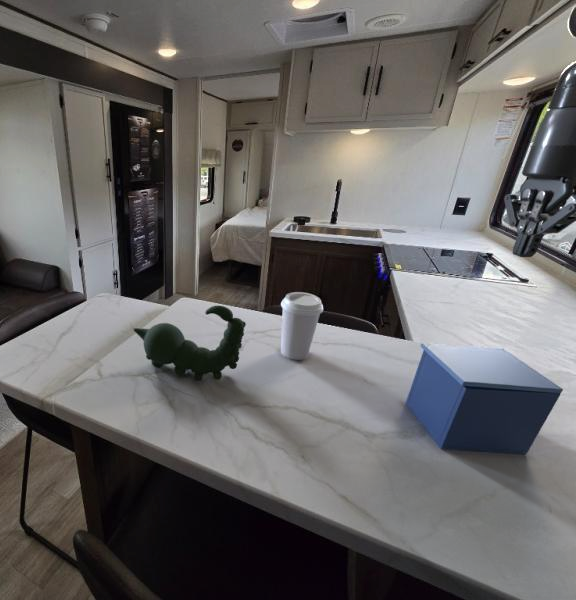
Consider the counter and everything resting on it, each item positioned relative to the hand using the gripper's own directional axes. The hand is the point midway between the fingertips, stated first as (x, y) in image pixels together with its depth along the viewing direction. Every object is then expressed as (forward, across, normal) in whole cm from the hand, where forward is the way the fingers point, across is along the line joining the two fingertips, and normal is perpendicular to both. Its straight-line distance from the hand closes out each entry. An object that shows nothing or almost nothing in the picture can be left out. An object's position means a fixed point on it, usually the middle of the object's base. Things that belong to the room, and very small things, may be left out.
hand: (522, 255), depth 57 cm
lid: (+17, -8, +6) cm, 20 cm away
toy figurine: (+30, +6, +57) cm, 65 cm away
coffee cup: (+30, +16, +30) cm, 46 cm away
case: (+30, -8, +6) cm, 32 cm away
